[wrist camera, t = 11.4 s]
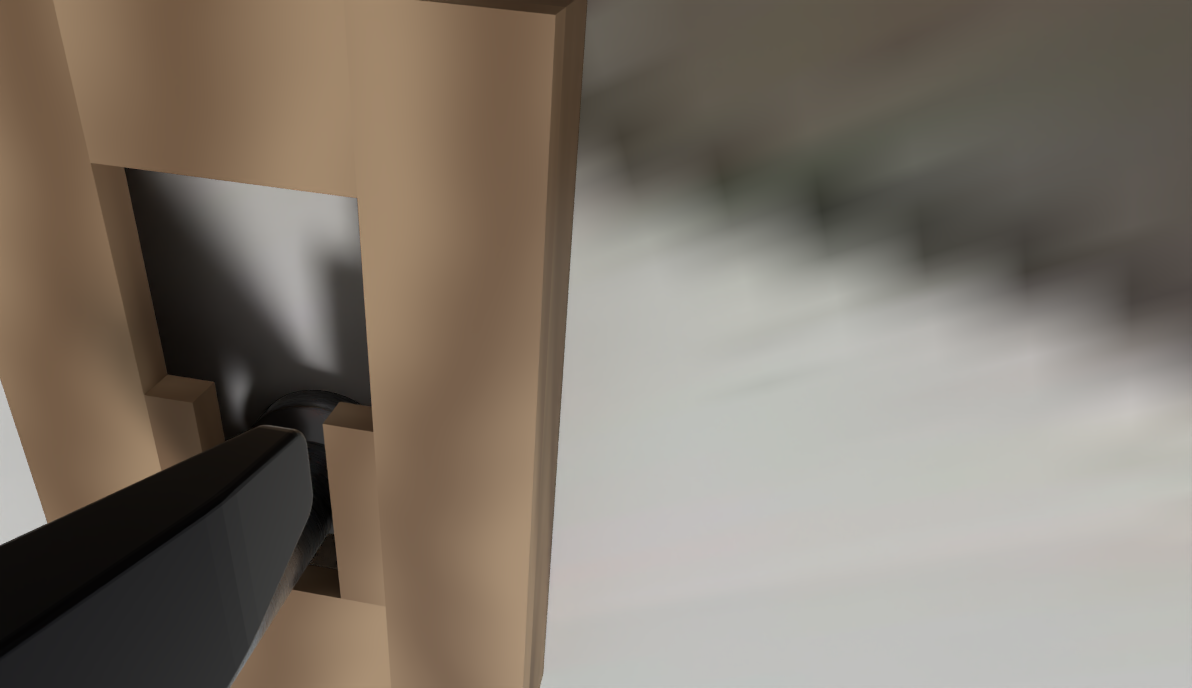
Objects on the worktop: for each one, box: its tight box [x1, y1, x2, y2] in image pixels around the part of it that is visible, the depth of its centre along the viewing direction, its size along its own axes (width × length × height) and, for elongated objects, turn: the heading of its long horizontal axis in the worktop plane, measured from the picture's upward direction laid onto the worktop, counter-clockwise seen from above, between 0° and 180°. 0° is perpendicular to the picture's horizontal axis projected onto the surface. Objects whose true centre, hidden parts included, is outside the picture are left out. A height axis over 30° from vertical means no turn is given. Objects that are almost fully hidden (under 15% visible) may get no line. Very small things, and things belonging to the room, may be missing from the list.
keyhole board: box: [0, 0, 587, 688], centre depth 23 cm, size 14×22×4 cm, turn 176°
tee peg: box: [228, 390, 361, 688], centre depth 22 cm, size 5×5×10 cm
